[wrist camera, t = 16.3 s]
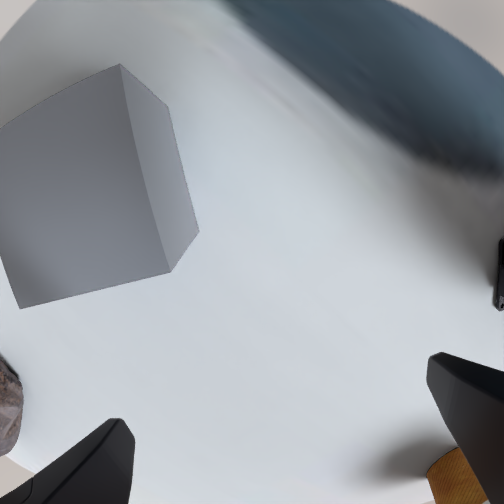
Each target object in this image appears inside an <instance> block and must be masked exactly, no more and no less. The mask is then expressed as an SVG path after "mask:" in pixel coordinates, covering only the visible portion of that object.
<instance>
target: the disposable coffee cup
mask: <svg viewBox="0 0 504 504" xmlns="http://www.w3.org/2000/svg"><path fill="white" fill-rule="evenodd" d="M427 478H428V481H429V484H430V487H431V490H432V493H433V496H434V499H435V502H436V504H490V502H489V500H488V498H487V496H486V495H485V493H484V491H483V489H482V487H481V485H480V483H479V481H478V480H477V478H476V476H475V474H474V472H473V470H472V469H471V467H470V465H469V463H468V461H467V460H466V458H465V456H464V454H463V453H462V451H461V449H460V447H459V448H457V449H454V450H452V451H450V452H449V453H447V454H446V455H444V456H443V457H441V458H440V459H439V460H438V461H437V462H436V463H434V464H433V465H432V467H431V468H430V469H429V470H428V472H427Z"/></svg>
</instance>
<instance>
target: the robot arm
mask: <svg viewBox="0 0 504 504" xmlns="http://www.w3.org/2000/svg"><path fill="white" fill-rule="evenodd" d="M496 309H497V310H499V311H503V310H504V238H503V239H501V241H500V243H499V274H498V290H497V301H496ZM426 380H427V385H428V387H429V389H430V391H431V393H432V395H433V398H434V400H435V402H436V404H437V406H438V408H439V411H440V413H441V415H442V417H443V419H444V421H445V424H446V425H447V427H448V429H449V431H450V432H451V434H452V436H453V437H454V439H455V441H456V442H457V444H458V446H459V447H460V449H461V451H462V453H463V454H464V456H465V458H466V460H467V461H468V463H469V465H470V467H471V469H472V470H473V472H474V474H475V476H476V478H477V480H478V481H479V483H480V485H481V487H482V489H483V491H484V493H485V495H486V496H487V498H488V500H489V502H490V504H504V372H503V371H500V370H497V369H494V368H490V367H487V366H484V365H481V364H478V363H475V362H472V361H468V360H465V359H462V358H459V357H456V356H453V355H450V354H447V353H444V352H439V353H437V354H434V355H432V356H430V357H429V359H428V367H427V377H426ZM134 452H135V438H134V436H133V434H132V433H131V431H130V429H129V428H128V426H127V425H126V423H125V422H124V420H122V419H120V418H110V419H108V420H107V421H105V422H104V423H103V424H102V425H100V426H99V427H98V428H97V429H95V430H94V431H93V432H91V433H90V434H89V435H88V436H86V437H85V438H84V439H82V440H81V441H80V442H79V443H77V444H76V445H75V446H73V447H72V448H71V449H69V450H68V451H67V452H65V453H64V454H63V455H61V456H60V457H59V458H57V459H56V460H55V461H53V462H52V463H51V464H49V465H48V466H47V467H45V468H44V469H43V470H41V471H40V472H39V473H37V474H36V475H34V477H32V478H30V479H29V480H28V481H26V482H25V483H23V484H22V485H20V486H19V487H17V488H16V489H15V490H13V491H11V492H9V493H8V494H6V495H4V496H3V497H1V498H0V504H128V502H129V496H130V491H131V485H132V476H133V463H134Z"/></svg>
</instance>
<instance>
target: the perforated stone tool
mask: <svg viewBox="0 0 504 504" xmlns="http://www.w3.org/2000/svg"><path fill="white" fill-rule="evenodd" d="M22 389H23V388H22V384H21V382H20V381H18V379H17V376H15V375H14V374H12V373H11V372H10V371H9V370H8V367H7V366H5V364H4V363H3V362H2V361H0V456H2V455H5V454H7V453H9V452H10V451H11V450H12V448H13V447H14V446H15V444H16V442H17V439H18V436H19V432H20V427H21V419H22V410H23V409H22V408H23V402H24V401H23V393H22Z"/></svg>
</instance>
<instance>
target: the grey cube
mask: <svg viewBox="0 0 504 504" xmlns="http://www.w3.org/2000/svg"><path fill="white" fill-rule="evenodd" d="M198 233H199V228H198V224H197V221H196V217H195V213H194V210H193V206H192V202H191V198H190V195H189V191H188V187H187V183H186V179H185V175H184V171H183V167H182V163H181V160H180V155H179V151H178V147H177V143H176V139H175V135H174V131H173V127H172V122H171V118H170V114H169V109H168V106H166V105H165V104H164V103H163V102H162V101H161V100H160V99H159V98H158V97H157V96H155V95H154V94H153V93H152V92H151V91H150V90H149V89H148V88H147V87H146V86H144V85H143V84H142V83H141V82H140V81H139V80H138V79H137V78H135V77H134V76H133V75H132V74H131V73H130V72H129V71H127V70H126V69H125V68H124V67H123V66H122V65H121V64H118V65H115V66H113V67H111V68H108V69H106V70H104V71H101V72H99V73H97V74H95V75H93V76H90V77H88V78H86V79H84V80H82V81H80V82H78V83H76V84H74V85H72V86H70V87H68V88H66V89H64V90H62V91H60V92H59V93H57V94H55V95H53V96H51V97H49V98H48V99H46V100H44V101H42V102H41V103H39V104H37V105H36V106H34V107H32V108H31V109H29V110H27V111H26V112H24V113H23V114H21V115H19V116H18V117H16V118H15V119H13V120H12V121H10V122H9V123H7V124H6V125H4V126H3V127H2V128H0V256H1V259H2V262H3V266H4V269H5V272H6V274H7V277H8V280H9V283H10V286H11V288H12V291H13V294H14V296H15V299H16V301H17V304H18V306H19V309H23V308H27V307H31V306H35V305H40V304H44V303H48V302H52V301H56V300H60V299H64V298H68V297H72V296H76V295H80V294H84V293H88V292H93V291H97V290H101V289H105V288H109V287H113V286H117V285H121V284H125V283H129V282H133V281H137V280H141V279H146V278H150V277H154V276H158V275H162V274H166V273H170V272H171V271H172V270H173V268H174V267H175V265H176V264H177V262H178V261H179V260H180V258H181V257H182V255H183V254H184V252H185V251H186V250H187V248H188V247H189V245H190V244H191V242H192V241H193V240H194V238H195V237H196V235H197V234H198Z"/></svg>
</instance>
